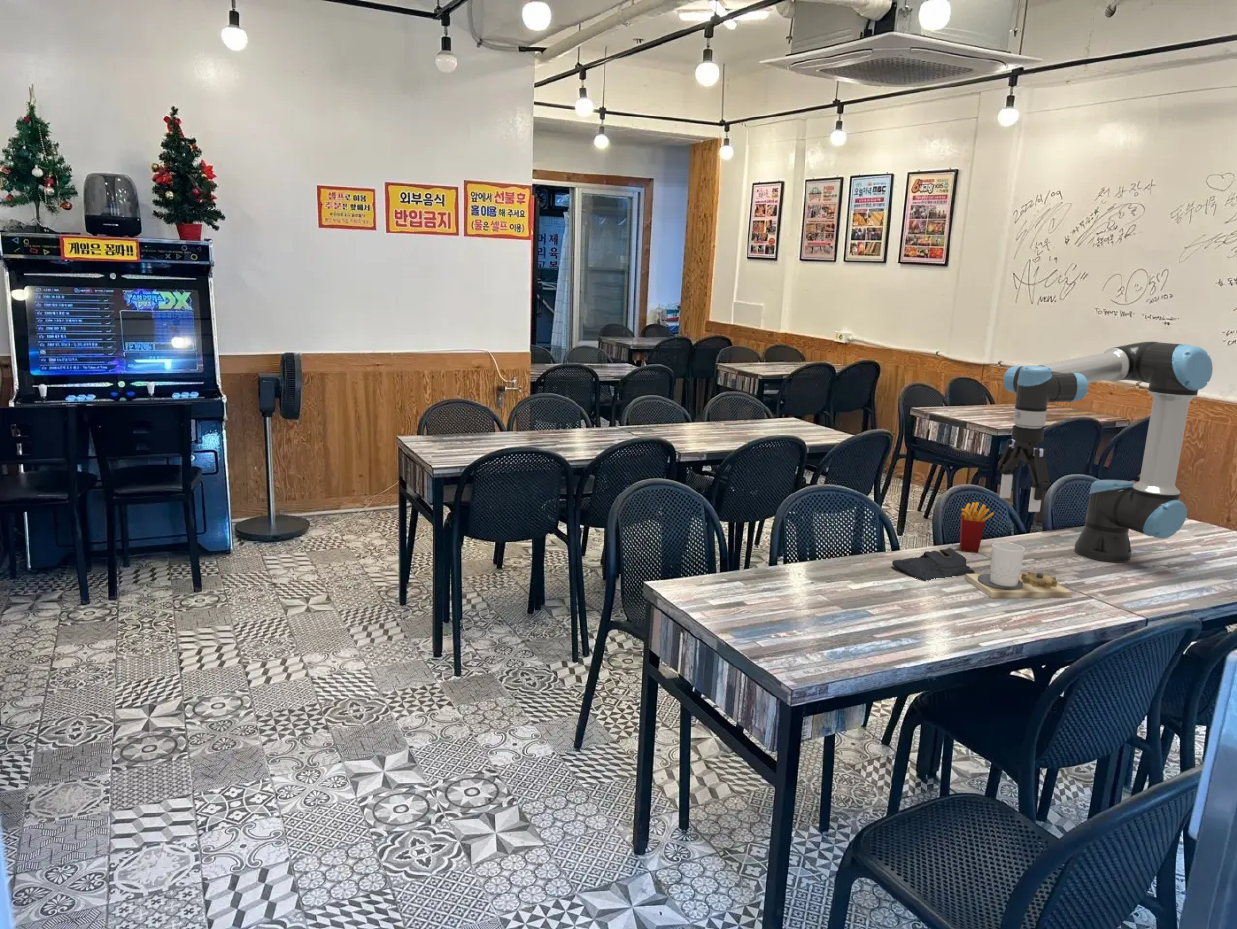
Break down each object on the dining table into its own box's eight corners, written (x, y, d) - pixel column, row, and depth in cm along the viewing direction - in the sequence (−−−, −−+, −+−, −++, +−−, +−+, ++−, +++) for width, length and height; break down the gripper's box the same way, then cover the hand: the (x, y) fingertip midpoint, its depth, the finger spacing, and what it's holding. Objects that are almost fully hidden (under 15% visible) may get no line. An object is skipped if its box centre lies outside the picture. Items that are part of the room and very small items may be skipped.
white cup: (1013, 578, 233) (1018, 542, 231) (1024, 588, 225) (1029, 552, 223) (983, 576, 234) (988, 540, 232) (992, 586, 226) (997, 550, 224)
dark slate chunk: (882, 566, 247) (884, 550, 246) (937, 557, 257) (939, 542, 256) (923, 584, 234) (925, 567, 233) (980, 574, 244) (982, 557, 243)
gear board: (1040, 578, 240) (1042, 565, 239) (1071, 597, 227) (1073, 582, 226) (964, 579, 238) (966, 565, 237) (991, 597, 224) (993, 583, 223)
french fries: (957, 551, 262) (963, 503, 259) (955, 543, 270) (961, 497, 267) (989, 555, 260) (995, 506, 256) (986, 547, 267) (992, 500, 264)
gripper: (989, 417, 238) (980, 492, 243) (1043, 434, 214) (1033, 517, 219) (1015, 417, 239) (1006, 492, 244) (1072, 434, 215) (1060, 517, 220)
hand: (1018, 504), depth 231 cm, fingers open, 13 cm apart
